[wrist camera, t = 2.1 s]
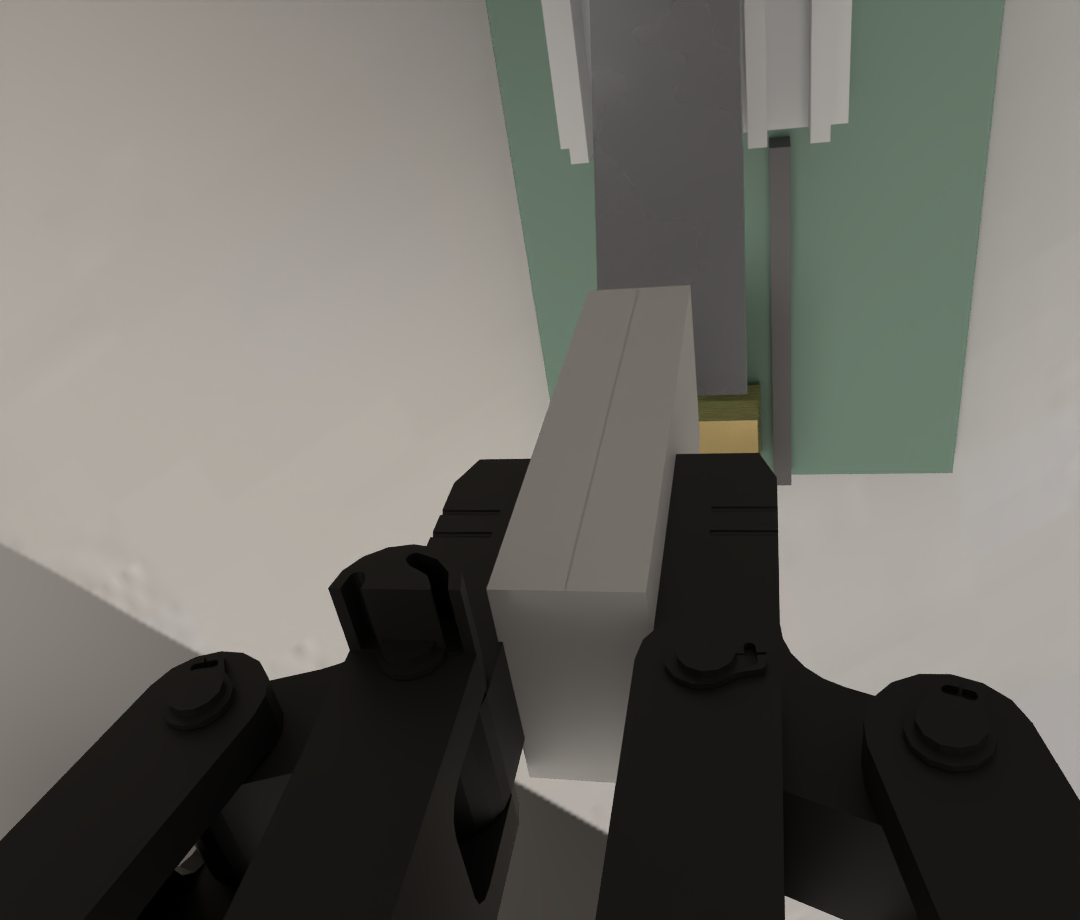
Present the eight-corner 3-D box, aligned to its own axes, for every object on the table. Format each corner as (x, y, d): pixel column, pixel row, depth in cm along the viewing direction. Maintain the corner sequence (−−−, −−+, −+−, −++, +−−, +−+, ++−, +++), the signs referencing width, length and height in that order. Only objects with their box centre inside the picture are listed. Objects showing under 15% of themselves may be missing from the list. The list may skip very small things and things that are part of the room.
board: (405, -579, 22) (276, -706, 16) (1076, -767, 19) (1218, -1012, 13) (567, 459, 38) (531, 585, 32) (947, 453, 35) (984, 592, 29)
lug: (664, 295, 32) (641, 422, 26) (758, 290, 31) (757, 419, 25) (677, 458, 35) (659, 604, 29) (762, 456, 35) (761, 606, 28)
